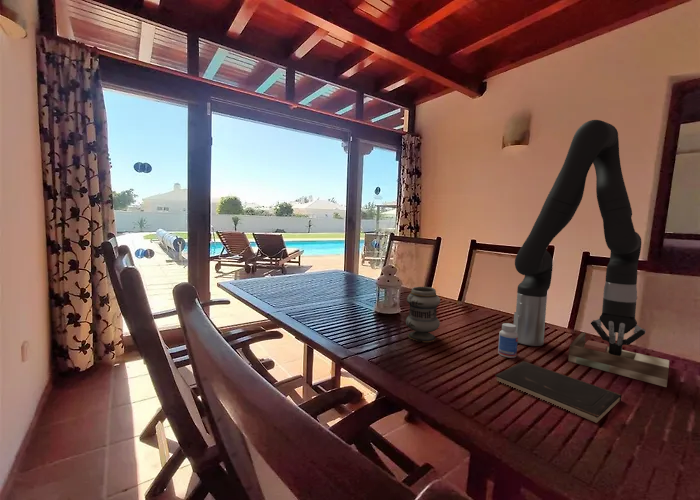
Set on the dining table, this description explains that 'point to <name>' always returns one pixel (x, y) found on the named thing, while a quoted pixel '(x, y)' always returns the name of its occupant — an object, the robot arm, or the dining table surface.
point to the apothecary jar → (422, 313)
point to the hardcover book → (560, 390)
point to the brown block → (596, 346)
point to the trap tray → (621, 363)
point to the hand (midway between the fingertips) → (615, 356)
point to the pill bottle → (508, 341)
